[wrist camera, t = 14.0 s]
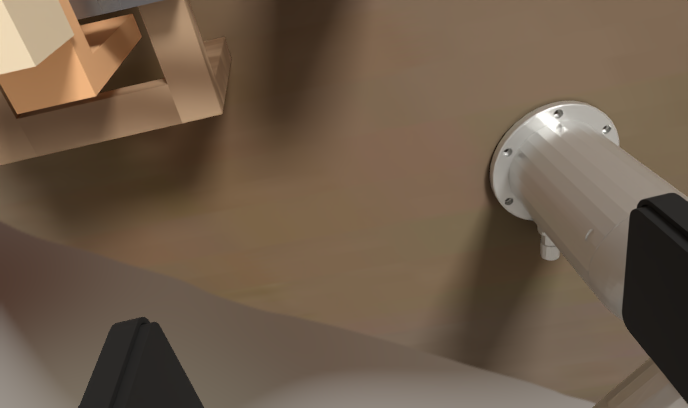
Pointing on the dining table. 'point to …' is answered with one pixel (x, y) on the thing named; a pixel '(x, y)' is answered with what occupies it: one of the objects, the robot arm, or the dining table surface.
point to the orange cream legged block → (58, 52)
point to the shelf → (130, 93)
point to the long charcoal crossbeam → (103, 6)
